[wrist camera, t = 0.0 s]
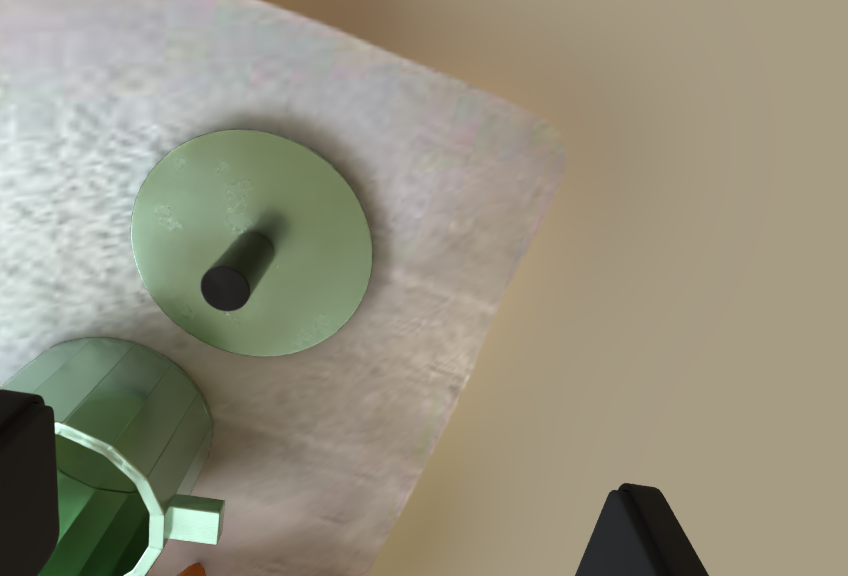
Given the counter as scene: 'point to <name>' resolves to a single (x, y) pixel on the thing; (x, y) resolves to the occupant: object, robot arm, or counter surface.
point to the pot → (122, 455)
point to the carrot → (193, 570)
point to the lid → (252, 242)
